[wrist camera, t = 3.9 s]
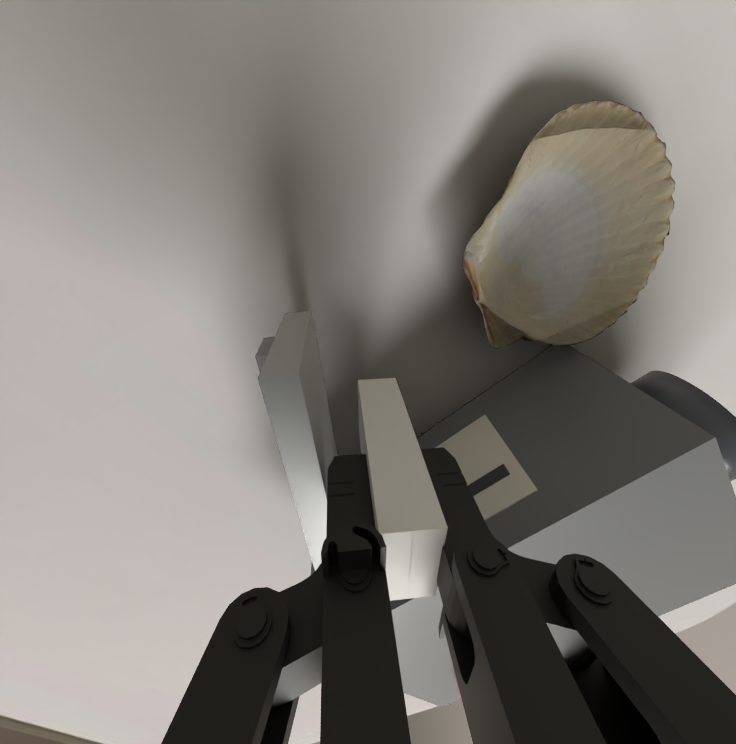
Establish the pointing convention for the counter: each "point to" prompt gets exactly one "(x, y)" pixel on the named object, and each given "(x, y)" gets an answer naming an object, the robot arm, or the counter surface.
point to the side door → (300, 419)
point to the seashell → (573, 228)
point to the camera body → (587, 489)
